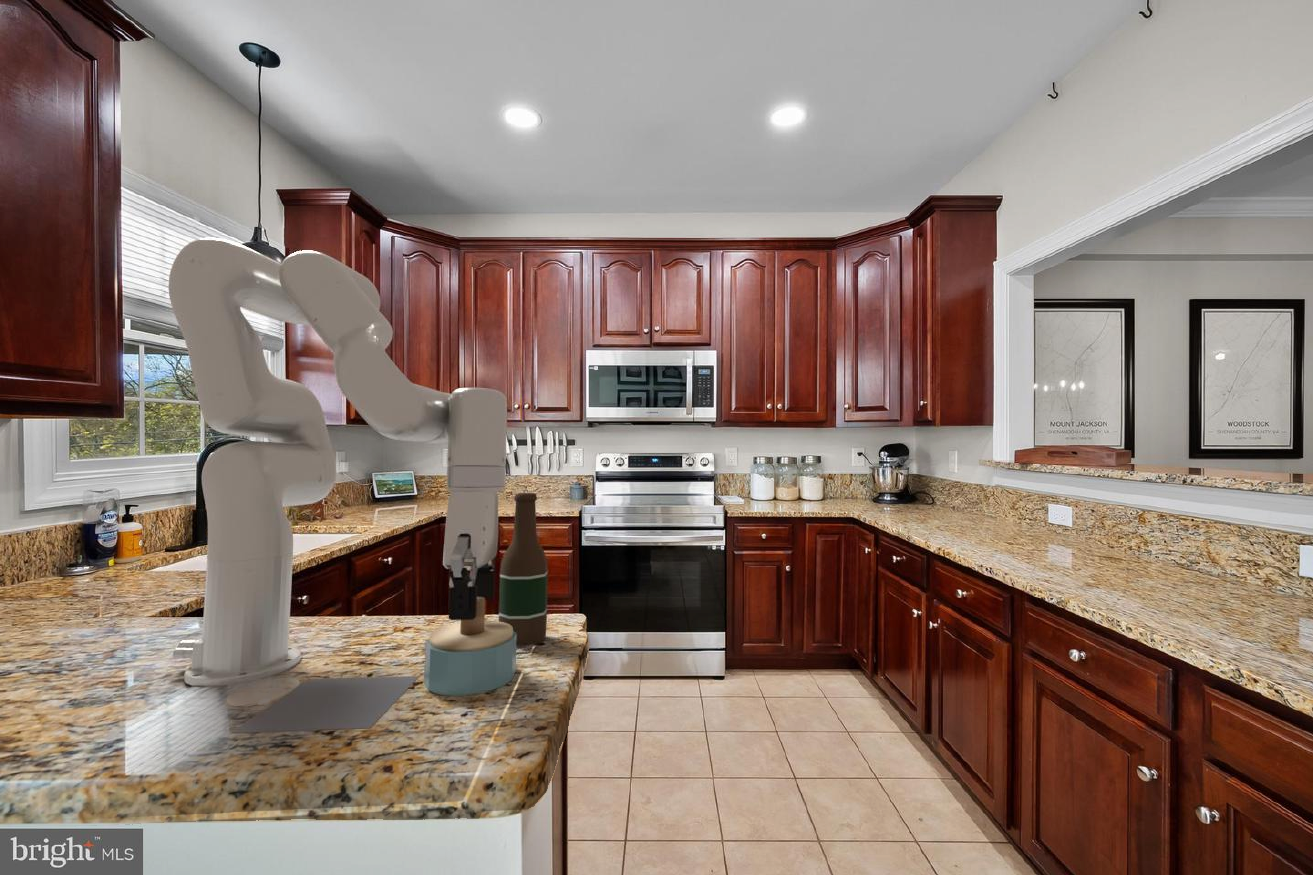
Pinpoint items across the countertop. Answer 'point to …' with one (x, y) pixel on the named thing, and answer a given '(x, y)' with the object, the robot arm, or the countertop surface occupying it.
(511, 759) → the countertop surface
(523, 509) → the beer bottle
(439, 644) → the lid
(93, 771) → the countertop surface
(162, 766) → the countertop surface
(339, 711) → the mat
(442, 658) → the bowl
